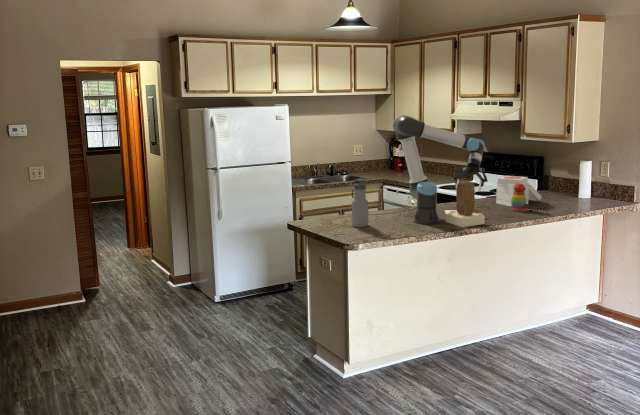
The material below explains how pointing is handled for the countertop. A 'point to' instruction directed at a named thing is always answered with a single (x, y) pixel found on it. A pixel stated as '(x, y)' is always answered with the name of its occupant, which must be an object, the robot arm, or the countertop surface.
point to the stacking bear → (519, 198)
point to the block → (465, 197)
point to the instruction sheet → (450, 211)
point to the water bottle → (359, 204)
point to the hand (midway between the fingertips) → (467, 189)
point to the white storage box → (507, 189)
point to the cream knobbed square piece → (464, 219)
